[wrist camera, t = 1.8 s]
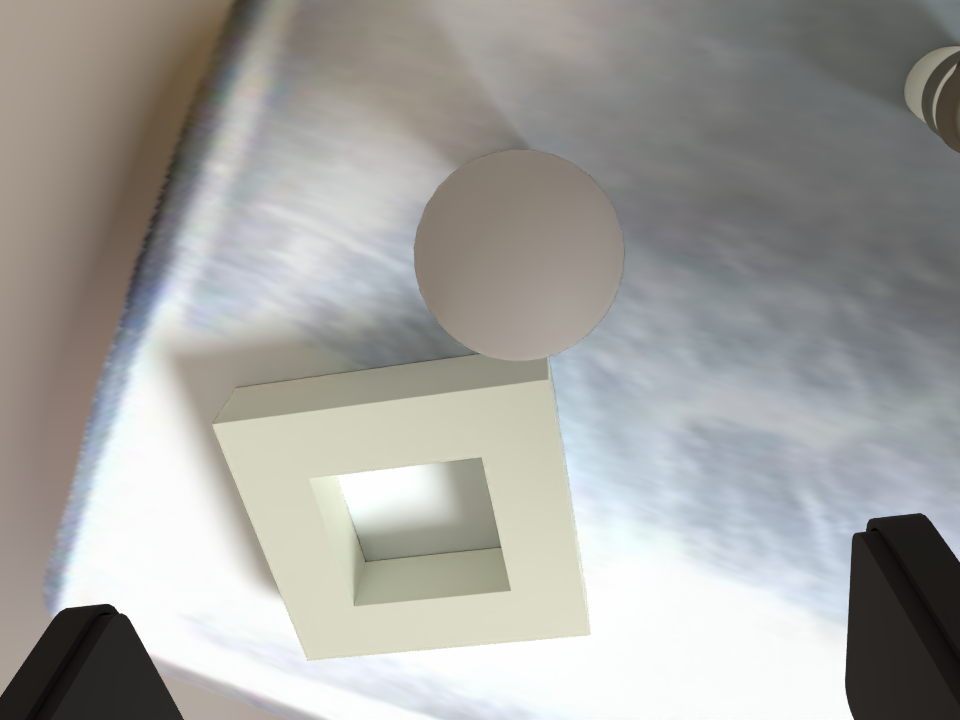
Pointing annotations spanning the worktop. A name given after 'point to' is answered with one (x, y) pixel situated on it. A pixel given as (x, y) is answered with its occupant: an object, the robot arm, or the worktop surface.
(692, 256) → the worktop surface
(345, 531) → the socket block
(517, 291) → the lightbulb
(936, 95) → the coffee cup
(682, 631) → the worktop surface
